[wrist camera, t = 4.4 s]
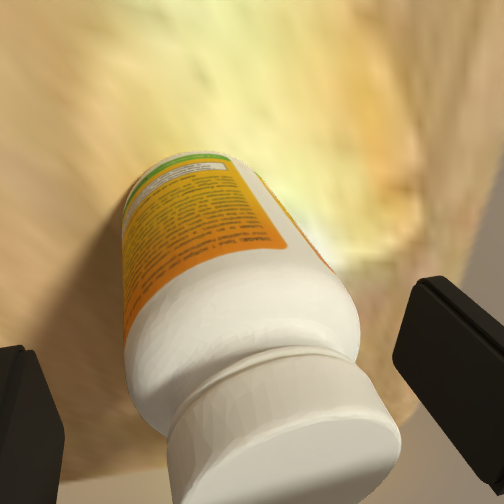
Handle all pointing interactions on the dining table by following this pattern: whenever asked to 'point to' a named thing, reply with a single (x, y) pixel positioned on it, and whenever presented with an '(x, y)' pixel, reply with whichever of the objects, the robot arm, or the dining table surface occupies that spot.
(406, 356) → the robot arm
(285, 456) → the supplement bottle
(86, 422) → the dining table surface
